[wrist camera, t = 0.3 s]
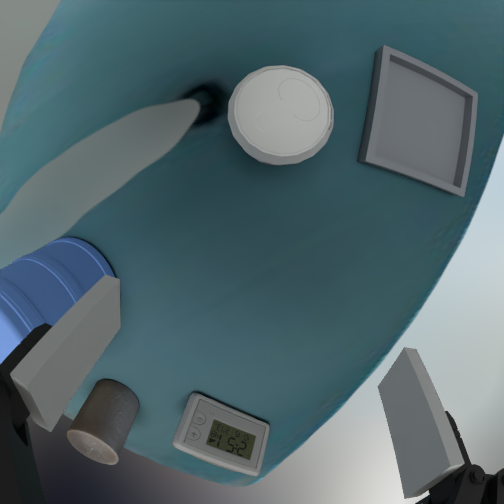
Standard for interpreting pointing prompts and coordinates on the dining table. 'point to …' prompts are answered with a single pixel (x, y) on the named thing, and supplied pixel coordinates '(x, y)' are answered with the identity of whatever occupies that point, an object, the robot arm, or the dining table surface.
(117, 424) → the pillar candle
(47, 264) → the water jug
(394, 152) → the tray
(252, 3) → the dining table surface
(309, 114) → the supplement can
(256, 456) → the digital clock
